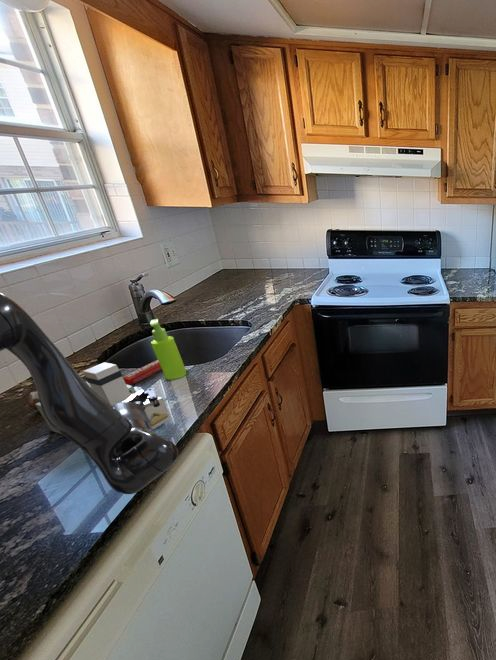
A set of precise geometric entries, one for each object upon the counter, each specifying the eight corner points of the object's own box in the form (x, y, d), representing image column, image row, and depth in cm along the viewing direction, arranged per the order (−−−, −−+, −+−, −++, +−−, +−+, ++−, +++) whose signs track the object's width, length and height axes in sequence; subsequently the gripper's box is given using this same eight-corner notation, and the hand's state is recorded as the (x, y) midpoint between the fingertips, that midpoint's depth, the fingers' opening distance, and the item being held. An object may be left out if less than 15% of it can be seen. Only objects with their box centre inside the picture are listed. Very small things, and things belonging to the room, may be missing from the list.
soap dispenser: (165, 383, 117) (141, 326, 109) (165, 374, 122) (142, 319, 114) (187, 377, 120) (165, 321, 112) (186, 368, 125) (165, 315, 117)
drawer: (182, 421, 97) (173, 400, 95) (133, 452, 87) (121, 430, 84) (135, 408, 103) (126, 388, 100) (84, 436, 93) (71, 415, 90)
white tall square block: (124, 431, 92) (94, 374, 85) (111, 428, 94) (81, 371, 87) (144, 420, 96) (117, 364, 89) (131, 417, 98) (104, 361, 91)
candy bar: (129, 387, 115) (125, 379, 114) (120, 386, 116) (116, 378, 115) (175, 363, 129) (172, 356, 128) (168, 362, 130) (165, 355, 129)
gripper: (160, 396, 80) (144, 372, 90) (72, 428, 71) (65, 397, 81) (172, 423, 83) (155, 397, 93) (89, 457, 74) (81, 424, 84)
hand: (114, 397), depth 87 cm, fingers open, 8 cm apart
